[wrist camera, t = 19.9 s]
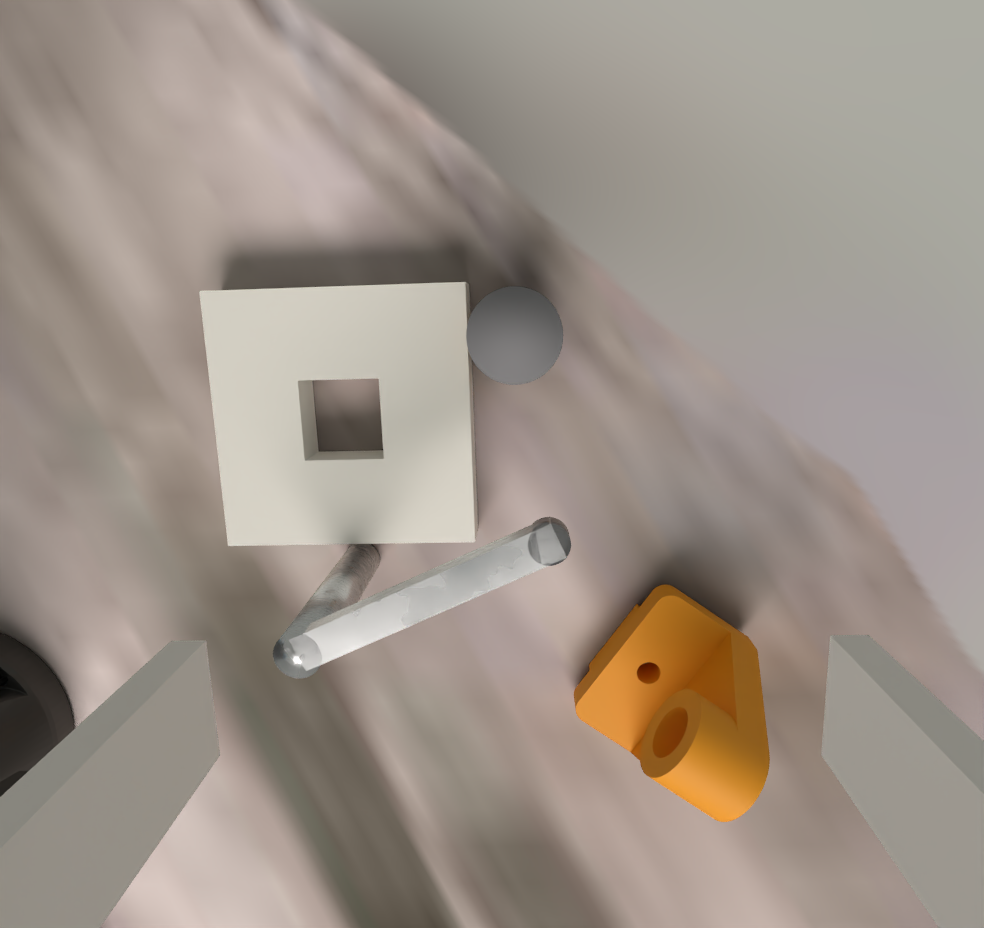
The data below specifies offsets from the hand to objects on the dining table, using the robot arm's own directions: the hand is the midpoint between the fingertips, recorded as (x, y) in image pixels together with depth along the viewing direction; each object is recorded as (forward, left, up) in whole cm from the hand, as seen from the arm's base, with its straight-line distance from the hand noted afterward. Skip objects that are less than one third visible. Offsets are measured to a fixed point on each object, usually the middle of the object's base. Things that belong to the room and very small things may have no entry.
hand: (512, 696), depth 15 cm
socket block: (-11, +2, -32) cm, 34 cm away
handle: (-5, -5, -32) cm, 32 cm away
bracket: (+9, -16, -32) cm, 37 cm away
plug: (0, +7, -32) cm, 32 cm away
